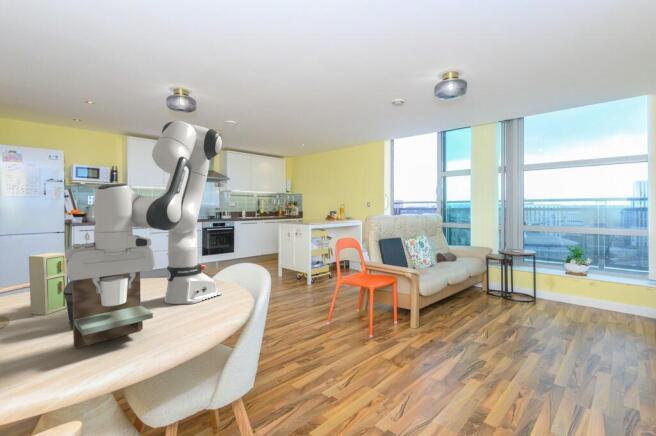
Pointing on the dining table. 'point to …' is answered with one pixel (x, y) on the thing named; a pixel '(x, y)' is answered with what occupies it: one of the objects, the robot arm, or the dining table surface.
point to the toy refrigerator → (47, 283)
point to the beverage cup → (69, 302)
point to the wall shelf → (105, 313)
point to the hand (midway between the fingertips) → (114, 290)
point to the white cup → (113, 290)
